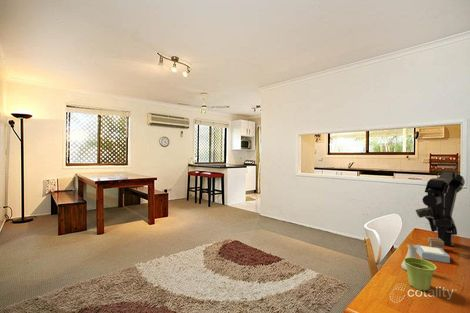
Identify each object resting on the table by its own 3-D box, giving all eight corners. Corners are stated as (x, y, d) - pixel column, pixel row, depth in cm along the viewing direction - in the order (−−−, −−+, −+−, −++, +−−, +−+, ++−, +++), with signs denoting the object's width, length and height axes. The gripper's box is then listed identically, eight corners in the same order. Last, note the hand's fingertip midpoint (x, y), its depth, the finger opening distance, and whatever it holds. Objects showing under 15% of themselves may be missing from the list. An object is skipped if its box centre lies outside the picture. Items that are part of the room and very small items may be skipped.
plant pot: (438, 297, 79) (439, 272, 79) (404, 288, 84) (404, 264, 84) (433, 284, 87) (433, 261, 87) (402, 276, 92) (402, 255, 92)
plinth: (415, 250, 117) (415, 244, 117) (440, 254, 113) (441, 247, 113) (421, 258, 108) (422, 252, 108) (449, 263, 104) (449, 256, 104)
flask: (415, 265, 102) (415, 243, 101) (427, 274, 94) (427, 250, 94) (397, 264, 102) (398, 242, 102) (408, 273, 95) (408, 249, 95)
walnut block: (427, 246, 123) (428, 237, 123) (439, 248, 121) (440, 238, 121) (431, 250, 118) (431, 240, 118) (443, 251, 116) (444, 242, 116)
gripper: (412, 199, 131) (411, 226, 131) (423, 206, 114) (422, 238, 114) (437, 201, 126) (436, 229, 127) (452, 209, 109) (451, 242, 110)
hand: (436, 234), depth 119 cm, fingers open, 9 cm apart
